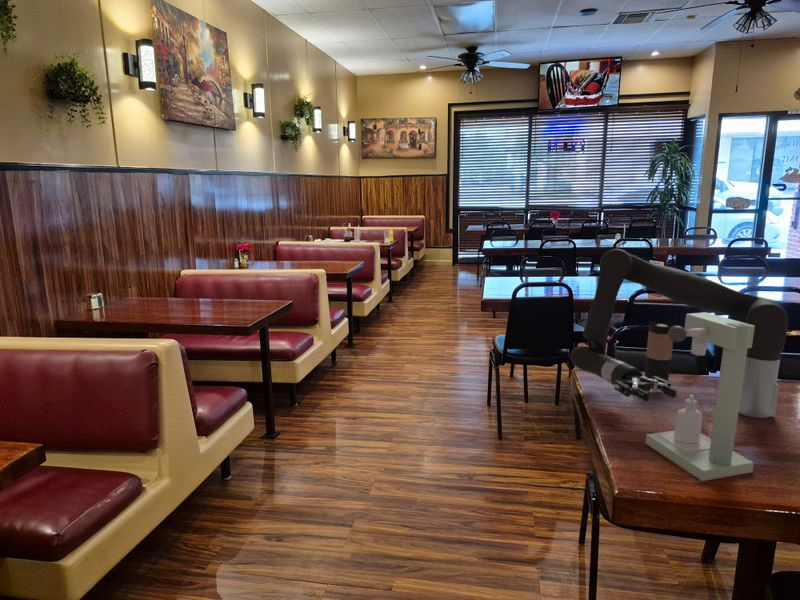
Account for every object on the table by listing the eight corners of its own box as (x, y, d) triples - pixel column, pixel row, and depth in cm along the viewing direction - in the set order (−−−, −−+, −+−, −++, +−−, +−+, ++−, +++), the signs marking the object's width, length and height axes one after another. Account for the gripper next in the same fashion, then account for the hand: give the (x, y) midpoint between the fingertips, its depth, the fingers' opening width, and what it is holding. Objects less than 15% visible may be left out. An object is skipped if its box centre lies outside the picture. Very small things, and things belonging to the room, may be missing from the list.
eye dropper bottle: (674, 434, 129) (679, 390, 127) (699, 439, 127) (705, 394, 124) (673, 441, 126) (678, 396, 123) (699, 447, 123) (705, 400, 121)
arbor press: (626, 446, 129) (638, 312, 122) (690, 436, 134) (706, 307, 127) (680, 484, 112) (699, 332, 105) (752, 472, 117) (774, 325, 110)
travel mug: (658, 386, 168) (665, 328, 164) (638, 379, 175) (644, 323, 171) (673, 382, 172) (680, 325, 168) (653, 375, 179) (659, 320, 174)
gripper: (601, 365, 147) (640, 385, 131) (642, 360, 150) (686, 380, 135) (599, 389, 148) (637, 412, 133) (640, 384, 152) (682, 406, 136)
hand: (661, 396), depth 134 cm, fingers open, 8 cm apart
